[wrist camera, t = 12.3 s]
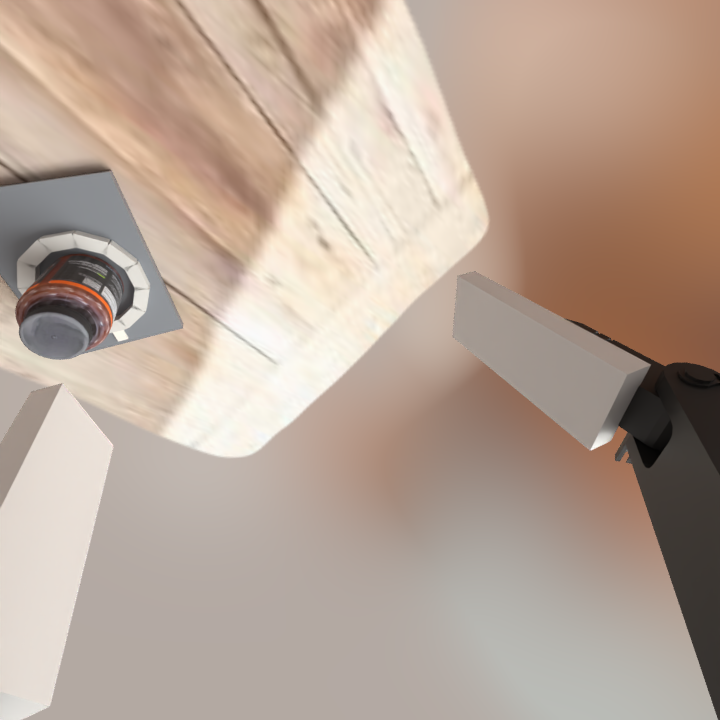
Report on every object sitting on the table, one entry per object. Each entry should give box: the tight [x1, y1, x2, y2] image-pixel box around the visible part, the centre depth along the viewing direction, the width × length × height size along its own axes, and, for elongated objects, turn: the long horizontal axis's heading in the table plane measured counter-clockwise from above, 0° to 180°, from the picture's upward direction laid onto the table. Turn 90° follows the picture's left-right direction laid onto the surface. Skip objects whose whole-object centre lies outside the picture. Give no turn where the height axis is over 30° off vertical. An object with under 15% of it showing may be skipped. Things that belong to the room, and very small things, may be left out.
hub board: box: [0, 170, 183, 354], centre depth 33 cm, size 16×12×2 cm
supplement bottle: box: [15, 254, 124, 360], centre depth 29 cm, size 6×6×11 cm
